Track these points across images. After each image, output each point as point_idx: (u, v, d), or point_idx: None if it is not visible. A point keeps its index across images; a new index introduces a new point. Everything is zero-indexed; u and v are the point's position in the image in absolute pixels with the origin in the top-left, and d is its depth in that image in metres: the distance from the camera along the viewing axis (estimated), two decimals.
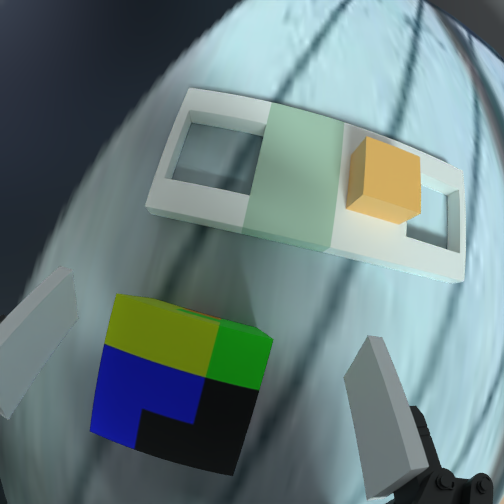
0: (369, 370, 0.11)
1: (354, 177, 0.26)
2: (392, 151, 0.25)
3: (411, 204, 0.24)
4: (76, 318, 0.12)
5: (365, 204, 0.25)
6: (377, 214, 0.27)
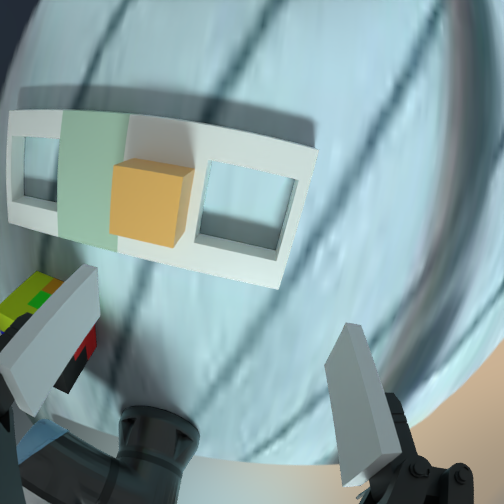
0: (346, 356, 0.11)
1: None
2: (143, 178, 0.22)
3: (161, 239, 0.24)
4: (98, 315, 0.13)
5: None
6: None
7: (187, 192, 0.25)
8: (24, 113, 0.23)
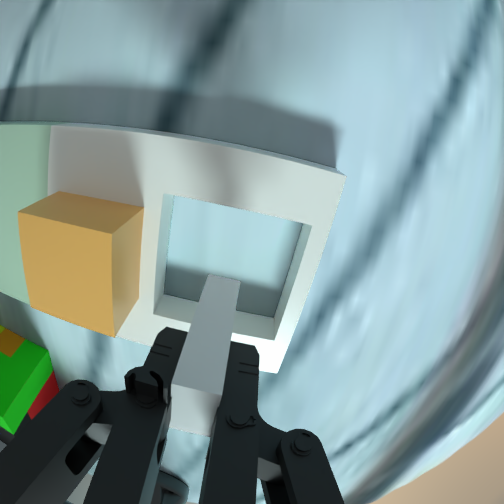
0: None
1: None
2: (55, 233, 0.12)
3: (96, 324, 0.14)
4: None
5: None
6: None
7: (131, 248, 0.15)
8: None
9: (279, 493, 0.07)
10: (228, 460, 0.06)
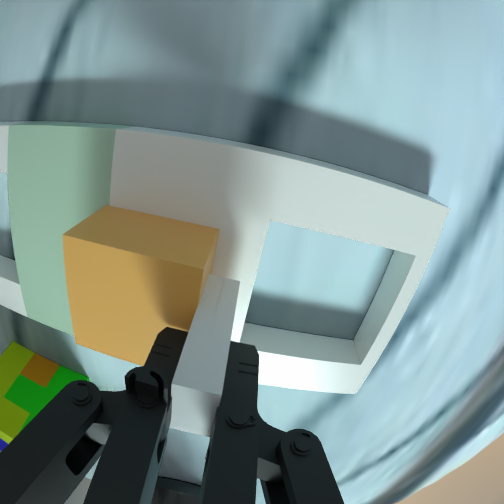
0: None
1: None
2: (120, 265, 0.11)
3: None
4: None
5: None
6: None
7: None
8: None
9: (279, 493, 0.07)
10: (228, 460, 0.06)
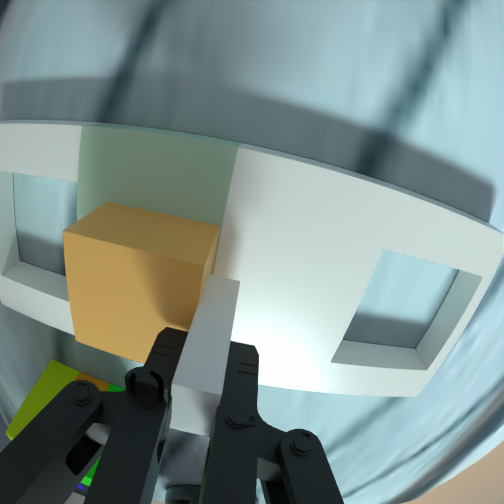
0: None
1: None
2: (120, 261, 0.11)
3: None
4: None
5: None
6: None
7: (208, 275, 0.14)
8: (7, 129, 0.12)
9: (279, 493, 0.07)
10: (227, 460, 0.06)
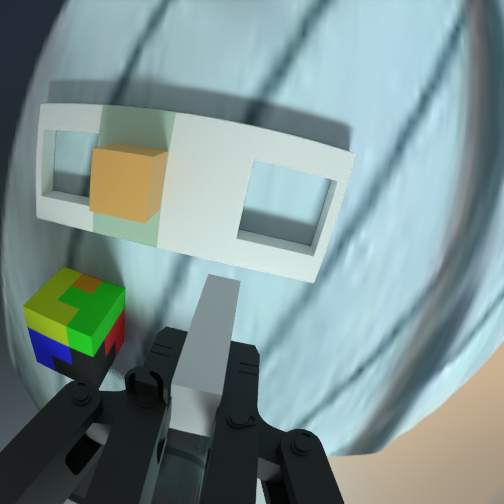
0: None
1: None
2: (118, 159, 0.23)
3: (134, 215, 0.25)
4: None
5: None
6: None
7: (159, 172, 0.26)
8: (58, 106, 0.25)
9: (279, 493, 0.07)
10: (228, 460, 0.06)
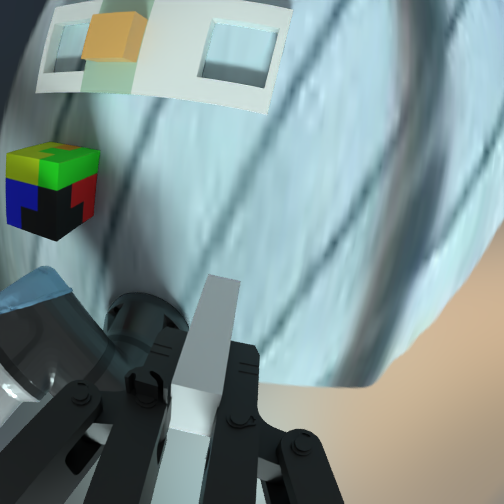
0: None
1: None
2: (109, 17, 0.24)
3: (115, 53, 0.26)
4: None
5: (95, 59, 0.27)
6: (113, 61, 0.29)
7: (139, 29, 0.26)
8: (69, 6, 0.25)
9: (279, 493, 0.07)
10: (228, 460, 0.06)
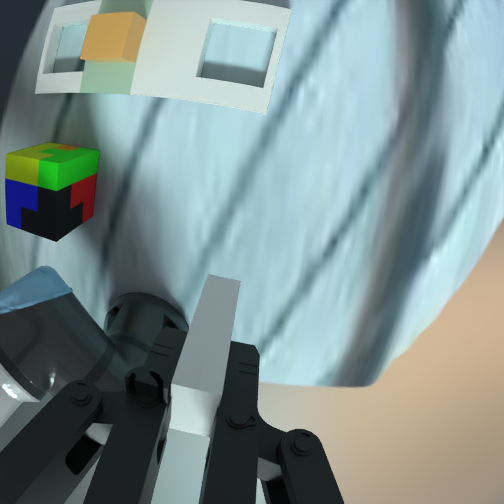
0: None
1: None
2: (108, 17, 0.24)
3: (114, 53, 0.26)
4: None
5: (94, 60, 0.27)
6: (112, 61, 0.29)
7: (138, 29, 0.26)
8: (68, 7, 0.25)
9: (279, 493, 0.07)
10: (228, 460, 0.06)
